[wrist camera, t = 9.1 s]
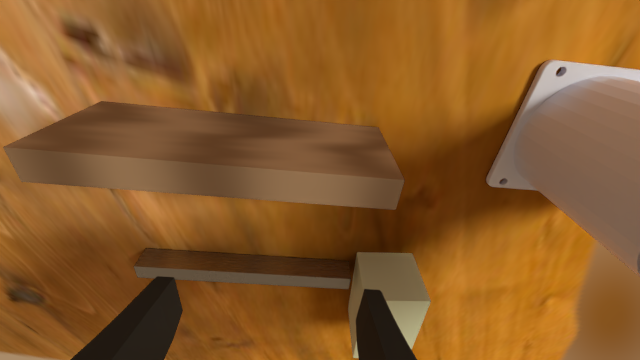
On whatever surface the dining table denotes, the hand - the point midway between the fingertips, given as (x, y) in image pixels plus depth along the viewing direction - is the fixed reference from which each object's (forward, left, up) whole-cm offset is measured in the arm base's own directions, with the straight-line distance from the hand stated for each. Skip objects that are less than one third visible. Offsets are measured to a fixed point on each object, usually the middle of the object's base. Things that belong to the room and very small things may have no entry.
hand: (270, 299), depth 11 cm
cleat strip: (+3, +8, -9) cm, 13 cm away
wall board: (+3, -3, -9) cm, 10 cm away
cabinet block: (-8, +10, -10) cm, 16 cm away
